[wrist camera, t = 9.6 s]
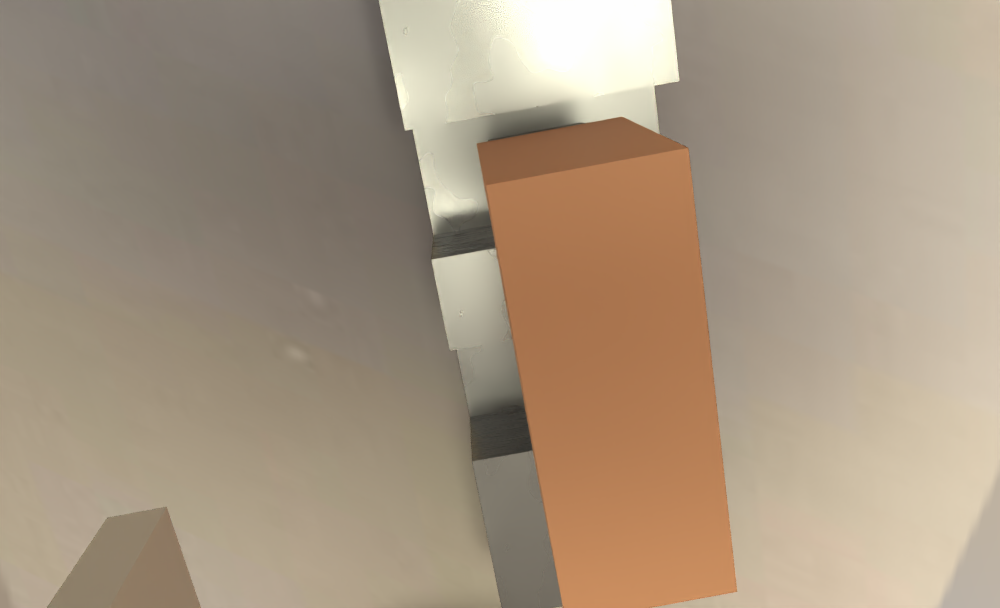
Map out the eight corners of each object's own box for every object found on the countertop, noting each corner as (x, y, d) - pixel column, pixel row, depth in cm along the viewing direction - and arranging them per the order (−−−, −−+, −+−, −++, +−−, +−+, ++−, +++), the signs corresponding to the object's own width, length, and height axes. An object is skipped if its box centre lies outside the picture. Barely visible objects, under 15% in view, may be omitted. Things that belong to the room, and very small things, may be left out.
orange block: (472, 124, 25) (485, 185, 15) (592, 102, 25) (688, 148, 15) (524, 409, 27) (566, 623, 17) (633, 388, 27) (737, 591, 17)
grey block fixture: (372, -78, 24) (358, -97, 20) (626, -124, 24) (655, -151, 20) (497, 550, 30) (503, 616, 26) (700, 514, 30) (731, 575, 26)
